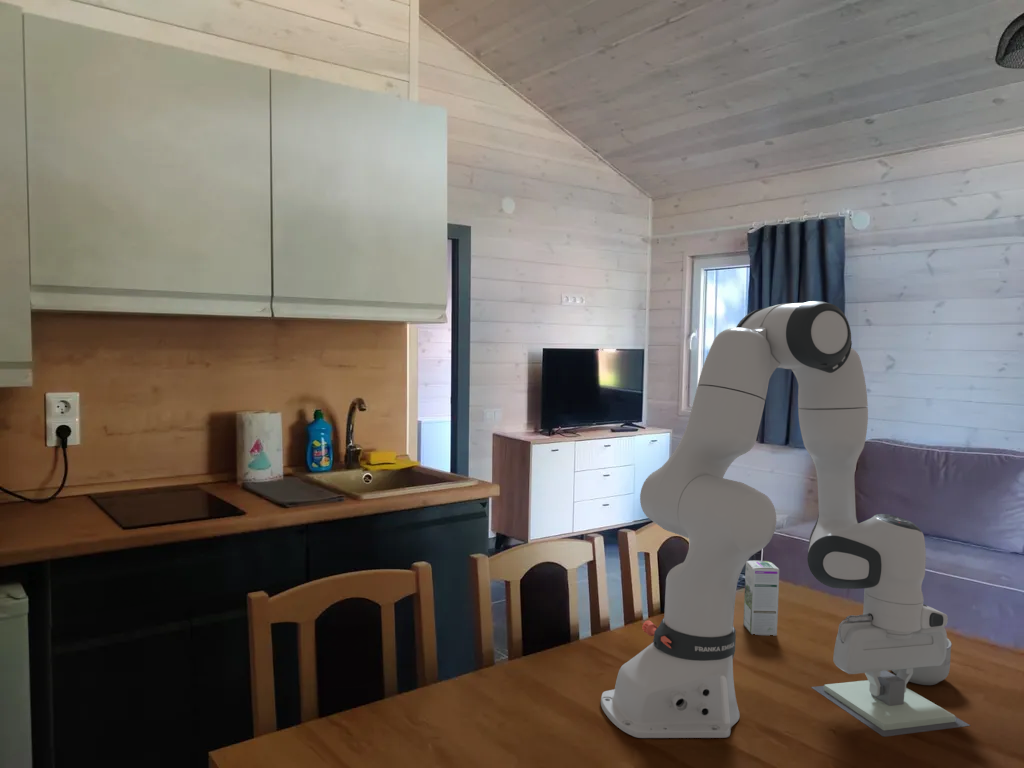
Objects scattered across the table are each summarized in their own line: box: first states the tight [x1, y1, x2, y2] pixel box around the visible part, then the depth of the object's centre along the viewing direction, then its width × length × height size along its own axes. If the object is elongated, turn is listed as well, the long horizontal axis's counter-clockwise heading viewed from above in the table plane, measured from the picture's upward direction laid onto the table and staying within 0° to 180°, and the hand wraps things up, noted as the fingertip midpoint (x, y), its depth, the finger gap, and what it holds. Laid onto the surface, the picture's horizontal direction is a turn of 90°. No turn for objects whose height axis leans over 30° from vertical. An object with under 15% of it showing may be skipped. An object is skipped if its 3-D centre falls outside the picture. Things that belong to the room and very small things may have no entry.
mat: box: [811, 685, 971, 737], centre depth 124 cm, size 17×17×1 cm
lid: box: [823, 670, 956, 731], centre depth 123 cm, size 14×14×5 cm
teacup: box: [891, 637, 953, 686], centre depth 137 cm, size 14×11×8 cm
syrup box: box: [742, 560, 780, 637], centre depth 157 cm, size 6×6×14 cm
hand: (887, 693), depth 123 cm, fingers closed on lid, 3 cm apart
